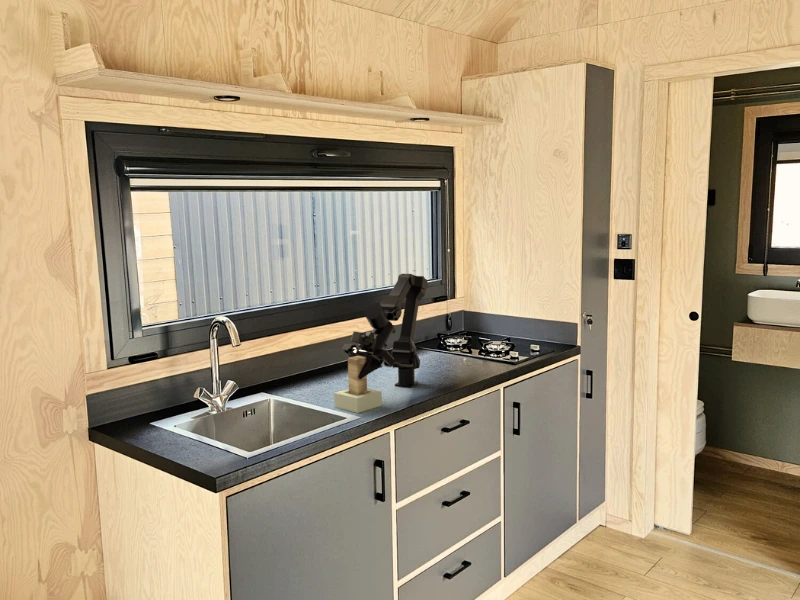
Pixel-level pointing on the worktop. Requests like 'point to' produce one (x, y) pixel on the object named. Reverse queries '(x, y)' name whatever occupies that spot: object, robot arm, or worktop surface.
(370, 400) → the socket block
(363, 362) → the peg
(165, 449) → the worktop surface
